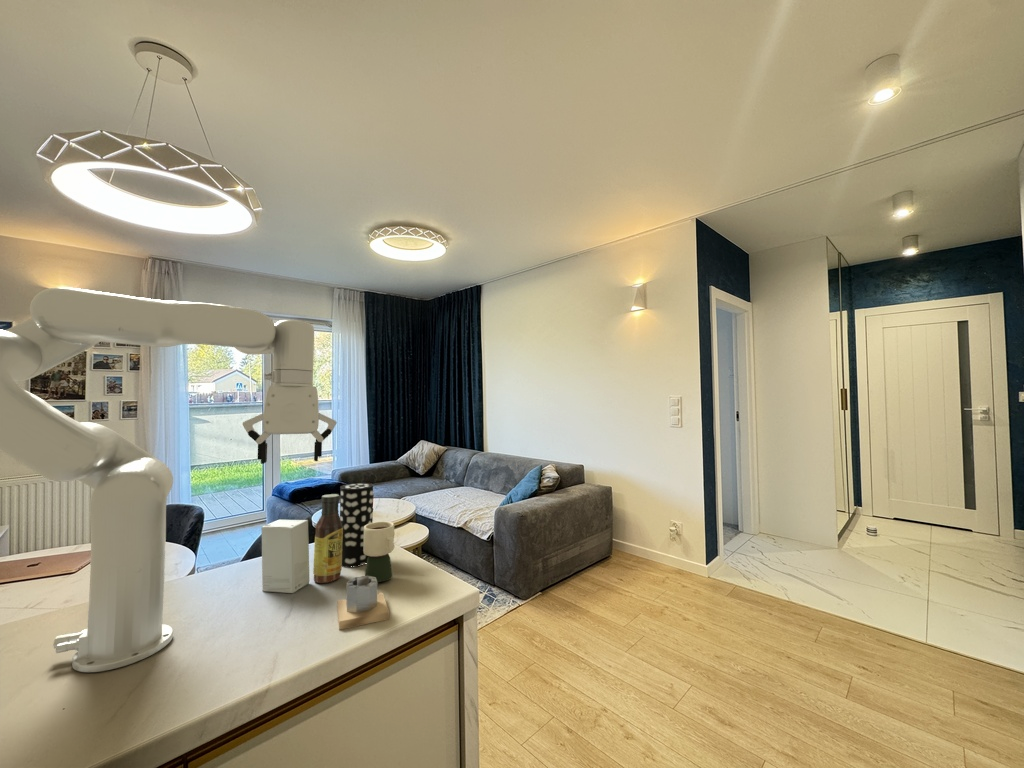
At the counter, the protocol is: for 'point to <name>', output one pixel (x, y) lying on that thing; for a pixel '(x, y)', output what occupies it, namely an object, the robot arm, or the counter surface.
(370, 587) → the tube
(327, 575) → the sauce bottle
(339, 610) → the shaft stand
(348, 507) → the white-spotted black cylinder
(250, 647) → the counter surface
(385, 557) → the character mug
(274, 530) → the skincare box
